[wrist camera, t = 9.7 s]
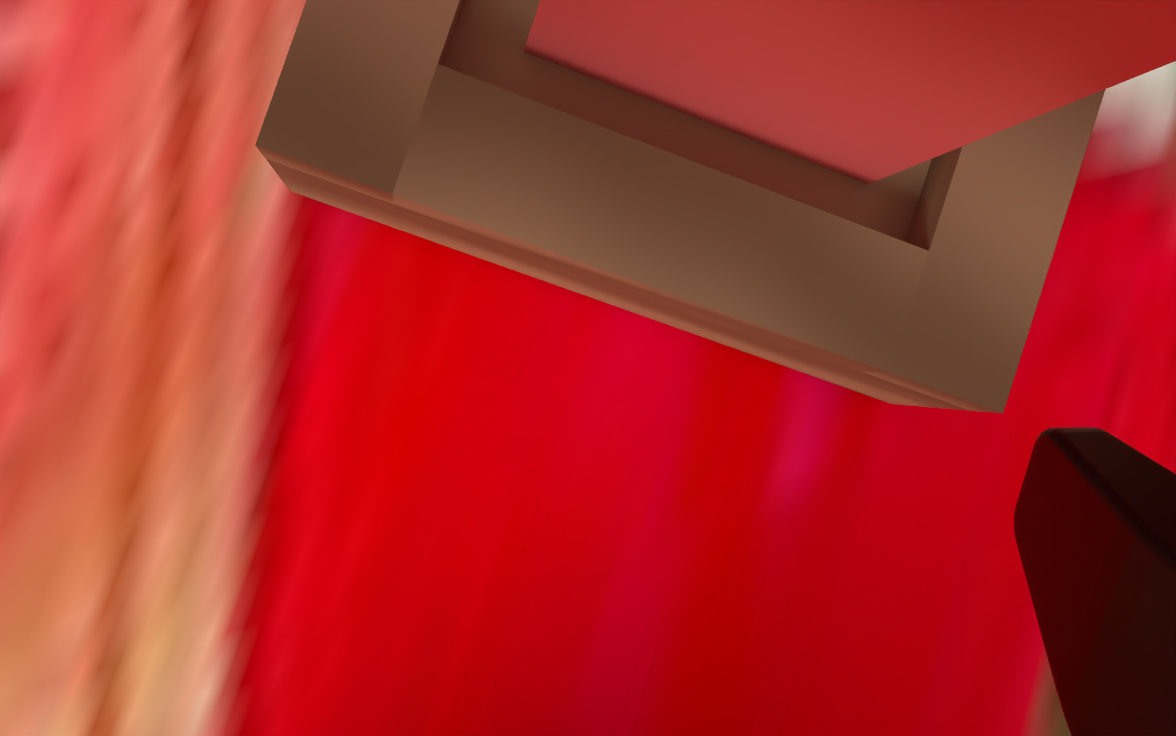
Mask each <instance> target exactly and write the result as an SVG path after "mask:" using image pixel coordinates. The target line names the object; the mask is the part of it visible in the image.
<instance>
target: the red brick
mask: <svg viewBox="0 0 1176 736" xmlns="http://www.w3.org/2000/svg"><path fill="white" fill-rule="evenodd" d="M524 52H527V53H529V54H532V55H534V56H537V57H540V58H542V59H545V60H547V61H550V62H553V63H555V64H558V65H560V66H563V67H566V68H568V69H571V70H573V71H576V72H579V73H581V74H584V75H586V76H589V77H592V78H594V79H597V80H599V81H602V82H605V83H607V84H610V85H612V86H615V87H618V88H620V89H623V90H625V91H628V92H631V93H633V94H636V95H638V96H641V97H644V98H646V99H649V100H651V101H654V102H657V103H659V104H662V105H665V106H667V107H670V108H672V109H675V110H678V111H680V112H683V113H685V114H688V115H691V116H693V117H696V118H698V119H701V120H704V121H706V122H709V123H711V124H714V125H717V126H719V127H722V128H724V129H727V130H730V131H732V132H735V133H737V134H740V135H743V136H745V137H748V138H750V139H753V140H756V141H758V142H761V143H763V144H766V145H769V146H771V147H774V148H776V149H779V150H782V151H784V152H787V153H789V154H792V155H795V156H797V157H800V158H802V159H805V160H808V161H810V162H813V163H815V164H818V165H821V166H823V167H826V168H828V169H831V170H834V171H836V172H839V173H841V174H844V175H847V176H849V177H852V178H854V179H857V180H860V181H862V182H865V183H867V184H870V183H872V182H875V181H877V180H880V179H882V178H885V177H887V176H890V175H892V174H895V173H897V172H900V171H902V170H905V169H907V168H910V167H912V166H915V165H917V164H920V163H922V162H925V161H927V160H930V159H932V158H935V157H937V156H940V155H942V154H945V153H947V152H950V151H952V150H955V149H957V148H960V147H962V146H964V145H967V144H969V143H972V142H974V141H977V140H979V139H982V138H984V137H987V136H989V135H992V134H994V133H997V132H999V131H1002V130H1004V129H1007V128H1009V127H1012V126H1014V125H1017V124H1019V123H1022V122H1024V121H1027V120H1029V119H1032V118H1034V117H1037V116H1039V115H1042V114H1044V113H1047V112H1049V111H1052V110H1054V109H1057V108H1059V107H1062V106H1064V105H1067V104H1069V103H1072V102H1074V101H1077V100H1079V99H1082V98H1084V97H1087V96H1089V95H1092V94H1094V93H1097V92H1099V91H1102V90H1104V89H1106V88H1109V87H1111V86H1114V85H1116V84H1119V83H1121V82H1124V81H1126V80H1129V79H1131V78H1134V77H1136V76H1139V75H1141V74H1144V73H1146V72H1149V71H1151V70H1154V69H1156V68H1159V67H1161V66H1164V65H1166V64H1169V63H1171V62H1174V61H1176V0H540V2H539V5H538V8H537V11H536V14H535V17H534V20H533V23H532V26H531V29H530V33H529V36H528V39H527V42H526V45H525V48H524Z"/></svg>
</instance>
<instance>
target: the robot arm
mask: <svg viewBox="0 0 1176 736" xmlns="http://www.w3.org/2000/svg"><path fill="white" fill-rule="evenodd" d="M1014 531H1015V538H1016V543H1017V546H1018V550H1019V554H1020V558H1021V561H1022V565H1023V569H1024V572H1025V576H1026V580H1027V583H1028V587H1029V591H1030V594H1031V598H1032V602H1033V606H1034V609H1035V613H1036V617H1037V620H1038V624H1039V628H1040V631H1041V635H1042V639H1043V642H1044V646H1045V650H1046V653H1047V657H1048V661H1049V665H1050V668H1051V672H1052V676H1053V679H1054V683H1055V687H1056V690H1057V693H1058V697H1059V700H1060V703H1061V707H1062V710H1063V713H1064V716H1065V719H1066V722H1067V725H1068V727H1069V730H1070V733H1071V735H1072V736H1176V474H1175V473H1173V472H1171V471H1170V470H1168V469H1167V468H1165V467H1163V466H1162V465H1160V464H1158V463H1157V462H1155V461H1153V460H1152V459H1150V458H1149V457H1147V456H1145V455H1144V454H1142V453H1140V452H1139V451H1137V450H1135V449H1134V448H1132V447H1131V446H1129V445H1127V444H1126V443H1124V442H1122V441H1121V440H1119V439H1118V438H1116V437H1114V436H1113V435H1111V434H1109V433H1108V432H1106V431H1104V430H1102V429H1098V428H1093V427H1075V428H1049V429H1047V430H1045V431H1044V432H1042V433H1041V434H1040V435H1039V437H1038V438H1037V440H1036V442H1035V445H1034V447H1033V451H1032V454H1031V457H1030V461H1029V464H1028V467H1027V471H1026V474H1025V477H1024V481H1023V484H1022V487H1021V491H1020V494H1019V497H1018V501H1017V504H1016V508H1015V514H1014Z"/></svg>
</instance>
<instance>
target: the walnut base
mask: <svg viewBox="0 0 1176 736" xmlns="http://www.w3.org/2000/svg"><path fill="white" fill-rule="evenodd" d="M539 2H540V0H307V1H306V4H305V7H304V9H303V12H302V15H301V18H300V21H299V24H298V26H297V29H296V32H295V35H294V38H293V40H292V43H291V46H290V49H289V52H288V55H287V57H286V60H285V63H284V66H283V69H282V72H281V74H280V77H279V80H278V83H277V86H276V88H275V91H274V94H273V97H272V100H271V103H270V105H269V108H268V111H267V114H266V117H265V119H264V122H263V125H262V128H261V131H260V134H259V136H258V139H257V142H256V146H257V148H258V149H259V150H260V152H261V153H262V154H263V155H264V157H265V158H266V159H267V161H268V162H269V163H270V165H271V166H272V167H273V169H274V170H275V171H276V173H277V174H278V175H279V177H280V178H281V179H282V181H283V182H284V183H285V185H286V186H287V187H288V189H289V190H290V191H292V192H295V193H298V194H300V195H303V196H306V197H309V198H312V199H314V200H317V201H320V202H323V203H326V204H329V205H331V206H334V207H337V208H340V209H343V210H346V211H348V212H351V213H354V214H357V215H360V216H362V217H365V218H368V219H371V220H374V221H377V222H379V223H382V224H385V225H388V226H391V227H394V228H396V229H399V230H402V231H405V232H408V233H411V234H413V235H416V236H419V237H422V238H425V239H427V240H430V241H433V242H436V243H439V244H442V245H444V246H447V247H450V248H453V249H456V250H459V251H461V252H464V253H467V254H470V255H473V256H475V257H478V258H481V259H484V260H487V261H490V262H492V263H495V264H498V265H501V266H504V267H507V268H509V269H512V270H515V271H518V272H521V273H523V274H526V275H529V276H532V277H535V278H538V279H540V280H543V281H546V282H549V283H552V284H555V285H557V286H560V287H563V288H566V289H569V290H571V291H574V292H577V293H580V294H583V295H586V296H588V297H591V298H594V299H597V300H600V301H603V302H605V303H608V304H611V305H614V306H617V307H619V308H622V309H625V310H628V311H631V312H634V313H636V314H639V315H642V316H645V317H648V318H651V319H653V320H656V321H659V322H662V323H665V324H667V325H670V326H673V327H676V328H679V329H682V330H684V331H687V332H690V333H693V334H696V335H699V336H701V337H704V338H707V339H710V340H713V341H715V342H718V343H721V344H724V345H727V346H730V347H732V348H735V349H738V350H741V351H744V352H747V353H749V354H752V355H755V356H758V357H761V358H763V359H766V360H769V361H772V362H775V363H778V364H780V365H783V366H786V367H789V368H792V369H795V370H797V371H800V372H803V373H806V374H809V375H811V376H814V377H817V378H820V379H823V380H826V381H828V382H831V383H834V384H837V385H840V386H843V387H845V388H848V389H851V390H854V391H857V392H859V393H862V394H865V395H868V396H871V397H874V398H876V399H879V400H882V401H885V402H888V403H891V404H900V405H912V406H924V407H936V408H947V409H959V410H971V411H983V412H994V413H1003V412H1004V409H1005V405H1006V402H1007V399H1008V396H1009V393H1010V389H1011V386H1012V383H1013V380H1014V377H1015V374H1016V370H1017V367H1018V364H1019V361H1020V358H1021V355H1022V351H1023V348H1024V345H1025V342H1026V339H1027V336H1028V332H1029V329H1030V326H1031V323H1032V320H1033V317H1034V313H1035V310H1036V307H1037V304H1038V301H1039V298H1040V294H1041V291H1042V288H1043V285H1044V282H1045V278H1046V275H1047V272H1048V269H1049V266H1050V263H1051V259H1052V256H1053V253H1054V250H1055V247H1056V244H1057V240H1058V237H1059V234H1060V231H1061V228H1062V225H1063V221H1064V218H1065V215H1066V212H1067V209H1068V206H1069V202H1070V199H1071V196H1072V193H1073V190H1074V187H1075V183H1076V180H1077V177H1078V174H1079V171H1080V168H1081V164H1082V161H1083V158H1084V155H1085V152H1086V148H1087V145H1088V142H1089V139H1090V136H1091V133H1092V129H1093V126H1094V123H1095V120H1096V117H1097V114H1098V110H1099V107H1100V104H1101V101H1102V98H1103V95H1104V91H1105V89H1104V90H1102V91H1099V92H1097V93H1094V94H1092V95H1089V96H1087V97H1084V98H1082V99H1079V100H1077V101H1074V102H1072V103H1069V104H1067V105H1064V106H1062V107H1059V108H1057V109H1054V110H1052V111H1049V112H1047V113H1044V114H1042V115H1039V116H1037V117H1034V118H1032V119H1029V120H1027V121H1024V122H1022V123H1019V124H1017V125H1014V126H1012V127H1009V128H1007V129H1004V130H1002V131H999V132H997V133H994V134H992V135H989V136H987V137H984V138H982V139H979V140H977V141H974V142H972V143H969V144H967V145H964V146H962V147H960V148H957V149H955V150H952V151H950V152H947V153H945V154H942V155H940V156H937V157H935V158H932V159H930V160H927V161H925V162H922V163H920V164H917V165H915V166H912V167H910V168H907V169H905V170H902V171H900V172H897V173H895V174H892V175H890V176H887V177H885V178H882V179H880V180H877V181H875V182H872V183H870V184H867V183H865V182H862V181H860V180H857V179H854V178H852V177H849V176H847V175H844V174H841V173H839V172H836V171H834V170H831V169H828V168H826V167H823V166H821V165H818V164H815V163H813V162H810V161H808V160H805V159H802V158H800V157H797V156H795V155H792V154H789V153H787V152H784V151H782V150H779V149H776V148H774V147H771V146H769V145H766V144H763V143H761V142H758V141H756V140H753V139H750V138H748V137H745V136H743V135H740V134H737V133H735V132H732V131H730V130H727V129H724V128H722V127H719V126H717V125H714V124H711V123H709V122H706V121H704V120H701V119H698V118H696V117H693V116H691V115H688V114H685V113H683V112H680V111H678V110H675V109H672V108H670V107H667V106H665V105H662V104H659V103H657V102H654V101H651V100H649V99H646V98H644V97H641V96H638V95H636V94H633V93H631V92H628V91H625V90H623V89H620V88H618V87H615V86H612V85H610V84H607V83H605V82H602V81H599V80H597V79H594V78H592V77H589V76H586V75H584V74H581V73H579V72H576V71H573V70H571V69H568V68H566V67H563V66H560V65H558V64H555V63H553V62H550V61H547V60H545V59H542V58H540V57H537V56H534V55H532V54H529V53H527V52H524V48H525V45H526V42H527V39H528V36H529V33H530V29H531V26H532V23H533V20H534V17H535V14H536V11H537V8H538V5H539Z"/></svg>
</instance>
